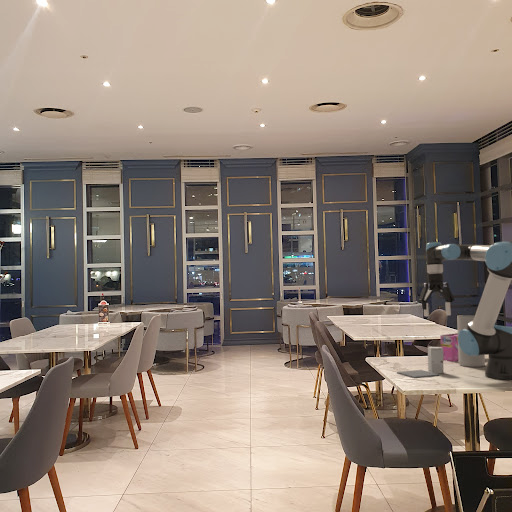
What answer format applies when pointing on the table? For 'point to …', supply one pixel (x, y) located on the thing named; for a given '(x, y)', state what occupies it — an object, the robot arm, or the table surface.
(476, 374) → the table surface
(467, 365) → the cylinder vase
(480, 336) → the robot arm
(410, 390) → the table surface
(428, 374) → the mat
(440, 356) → the skincare box
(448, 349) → the gum box
